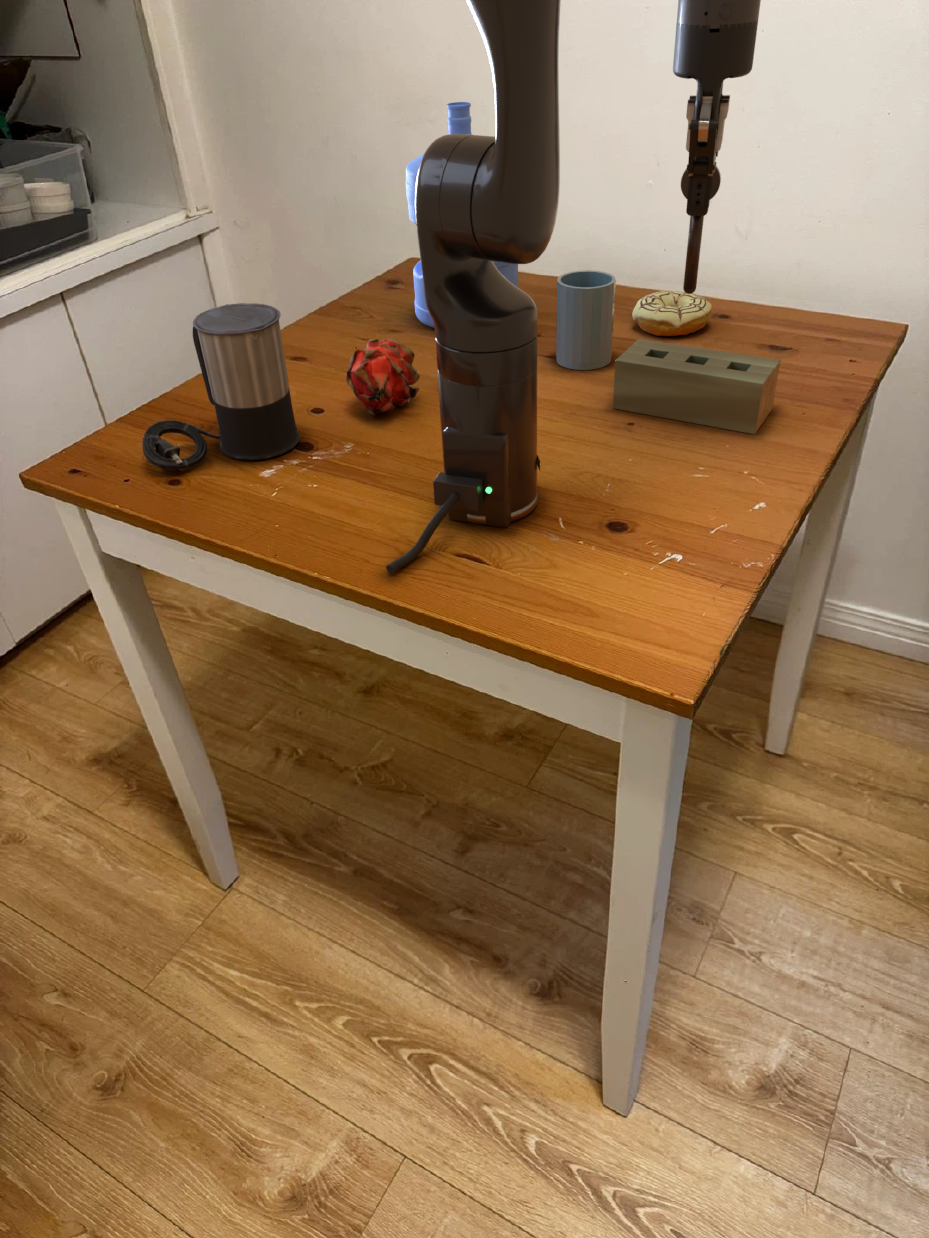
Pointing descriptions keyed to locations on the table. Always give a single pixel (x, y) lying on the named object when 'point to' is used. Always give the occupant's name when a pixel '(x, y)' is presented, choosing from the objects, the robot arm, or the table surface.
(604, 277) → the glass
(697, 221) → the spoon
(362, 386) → the dragon fruit
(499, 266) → the water jug
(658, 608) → the table surface
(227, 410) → the milk frother
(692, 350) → the stand
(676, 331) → the decorated donut
